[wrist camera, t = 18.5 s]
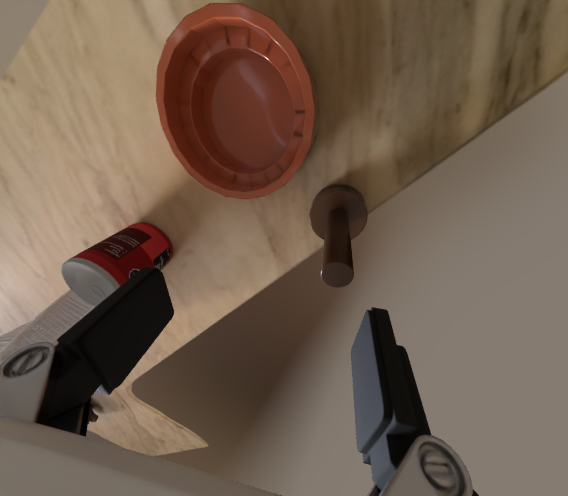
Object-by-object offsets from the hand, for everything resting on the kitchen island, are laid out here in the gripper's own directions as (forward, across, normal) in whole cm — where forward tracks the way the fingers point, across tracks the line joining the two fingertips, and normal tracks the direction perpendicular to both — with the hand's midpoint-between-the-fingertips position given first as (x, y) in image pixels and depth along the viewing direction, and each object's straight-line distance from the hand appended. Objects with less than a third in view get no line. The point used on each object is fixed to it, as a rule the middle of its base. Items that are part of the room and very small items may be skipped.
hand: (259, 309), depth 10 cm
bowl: (+20, +7, -6) cm, 22 cm away
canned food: (+20, +24, +13) cm, 34 cm away
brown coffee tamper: (+20, -4, +3) cm, 20 cm away
